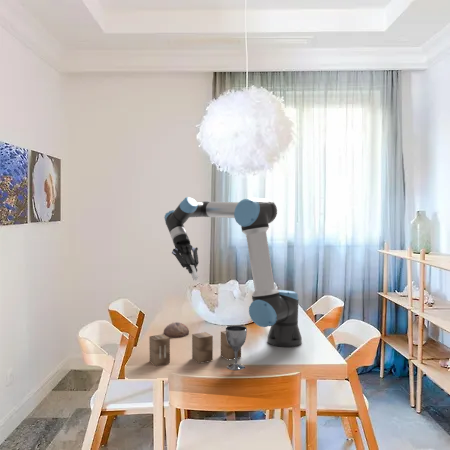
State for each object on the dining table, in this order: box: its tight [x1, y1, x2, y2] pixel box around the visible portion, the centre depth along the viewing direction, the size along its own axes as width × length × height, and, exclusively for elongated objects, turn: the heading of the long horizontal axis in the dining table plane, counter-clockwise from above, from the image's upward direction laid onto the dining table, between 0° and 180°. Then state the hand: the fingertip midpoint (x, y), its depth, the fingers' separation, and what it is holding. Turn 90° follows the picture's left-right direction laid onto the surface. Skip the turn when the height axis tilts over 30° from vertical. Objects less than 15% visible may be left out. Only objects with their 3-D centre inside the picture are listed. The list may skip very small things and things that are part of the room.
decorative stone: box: [163, 321, 190, 339], centre depth 224 cm, size 12×12×6 cm
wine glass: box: [225, 324, 248, 371], centre depth 180 cm, size 8×8×15 cm
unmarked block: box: [191, 331, 214, 364], centre depth 188 cm, size 6×6×10 cm
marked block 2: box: [220, 330, 242, 361], centre depth 192 cm, size 6×6×10 cm
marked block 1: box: [148, 333, 171, 367], centre depth 185 cm, size 6×6×10 cm
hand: (195, 278), depth 213 cm, fingers closed
